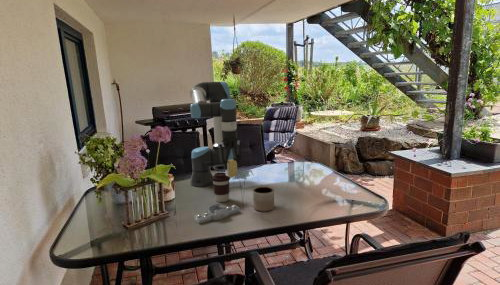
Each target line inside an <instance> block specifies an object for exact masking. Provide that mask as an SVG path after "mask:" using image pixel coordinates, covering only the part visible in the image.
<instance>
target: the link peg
mask: <svg viewBox="0 0 500 285" xmlns="http://www.w3.org/2000/svg"><path fill="white" fill-rule="evenodd" d="M227 163H228V164H229V177H230V178H232V177H237V176H238V168H237V166H236V160H234V158H233V159H231V160H228V162H227Z"/></svg>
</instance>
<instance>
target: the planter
mask: <svg viewBox="0 0 500 285" xmlns="http://www.w3.org/2000/svg"><path fill="white" fill-rule="evenodd" d="M252 201H253V202H252V204H253V209H254V210H255V211H258V212H270V211H272V210H273V209H275V189H274V188H273V187H270V186H258V187H255V188H253V189H252Z"/></svg>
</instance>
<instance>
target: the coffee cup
mask: <svg viewBox="0 0 500 285" xmlns="http://www.w3.org/2000/svg"><path fill="white" fill-rule="evenodd" d="M230 180H231V177H229V176H226V174H225V172H223V171H221V172H216V173H214V175H213V176H212V181H213V184H212V185H213V192H214V197H215V198H214V199H215V201H216V202H219V203H225V202H227V201H229V199H230V194H229V193H230Z"/></svg>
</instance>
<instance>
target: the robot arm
mask: <svg viewBox="0 0 500 285" xmlns="http://www.w3.org/2000/svg"><path fill="white" fill-rule="evenodd" d="M189 95H190V99H191V100H192V103H191V104H190V107H189V108H190V109H189V110H190V117H191V118H192V119H207V118H213V119H212V120H213V134H214V135H213V136H214V138H213V139H214V143H213V144H212V148H210V146H201V147H197V148H194V149H192V151H191V157H190V158H191V165H192V166H191V168H192V174H191V177H190V185H191V186H193V187H208V186H212V185H213V181H212V176H214V175H213V172H212V170H211V168H214V167H223V170H225V174H226V176H229V164H228V163H227V162H228V160H231V159H233V160H236V166H237V169H238V168H239V162H240V161H241V160H242V145H243V141H242V140H239V139H238V130H237V128H238V127H237V126H238V124H237V104H236V99H234V98H231V92H230V87H229V85H228V83H227V82H226V81H204V82H203V81H202V82H199V83H197V84H195V85H194V86H193V87H192V88H191V90H190V92H189ZM207 101H209V102H207Z"/></svg>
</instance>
